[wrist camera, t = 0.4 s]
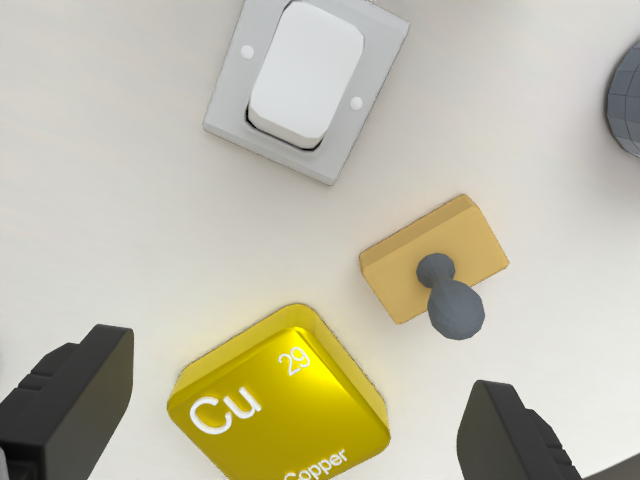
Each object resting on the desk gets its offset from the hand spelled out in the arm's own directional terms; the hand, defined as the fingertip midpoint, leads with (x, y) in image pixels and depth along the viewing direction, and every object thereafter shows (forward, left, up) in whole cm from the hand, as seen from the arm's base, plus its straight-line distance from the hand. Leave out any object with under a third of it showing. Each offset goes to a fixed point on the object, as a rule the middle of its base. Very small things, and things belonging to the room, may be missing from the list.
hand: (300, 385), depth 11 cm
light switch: (-5, -2, -28) cm, 29 cm away
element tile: (+23, 0, -28) cm, 36 cm away
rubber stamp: (+7, +10, -28) cm, 31 cm away
